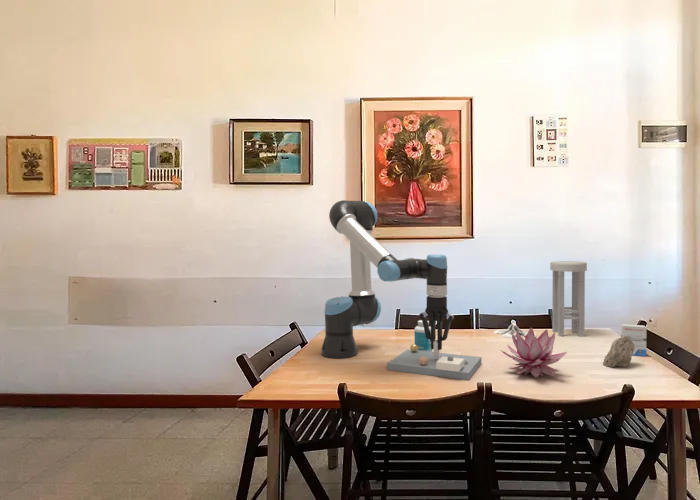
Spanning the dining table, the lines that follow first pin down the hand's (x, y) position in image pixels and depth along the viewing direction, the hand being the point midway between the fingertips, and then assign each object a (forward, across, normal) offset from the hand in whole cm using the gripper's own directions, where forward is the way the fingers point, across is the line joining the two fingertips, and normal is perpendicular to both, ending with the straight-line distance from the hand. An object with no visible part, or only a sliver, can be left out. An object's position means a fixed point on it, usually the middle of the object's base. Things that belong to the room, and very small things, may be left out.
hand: (436, 357), depth 178 cm
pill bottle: (+4, -10, +17) cm, 20 cm away
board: (+3, 0, 0) cm, 3 cm away
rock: (+3, +62, +29) cm, 68 cm away
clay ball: (-1, -2, -8) cm, 9 cm away
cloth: (+4, +19, +69) cm, 72 cm away
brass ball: (-1, -11, +8) cm, 14 cm away
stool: (+3, +43, +78) cm, 90 cm away
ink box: (+3, +68, +48) cm, 83 cm away
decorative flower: (+3, +34, +5) cm, 34 cm away
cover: (0, +7, -9) cm, 11 cm away
